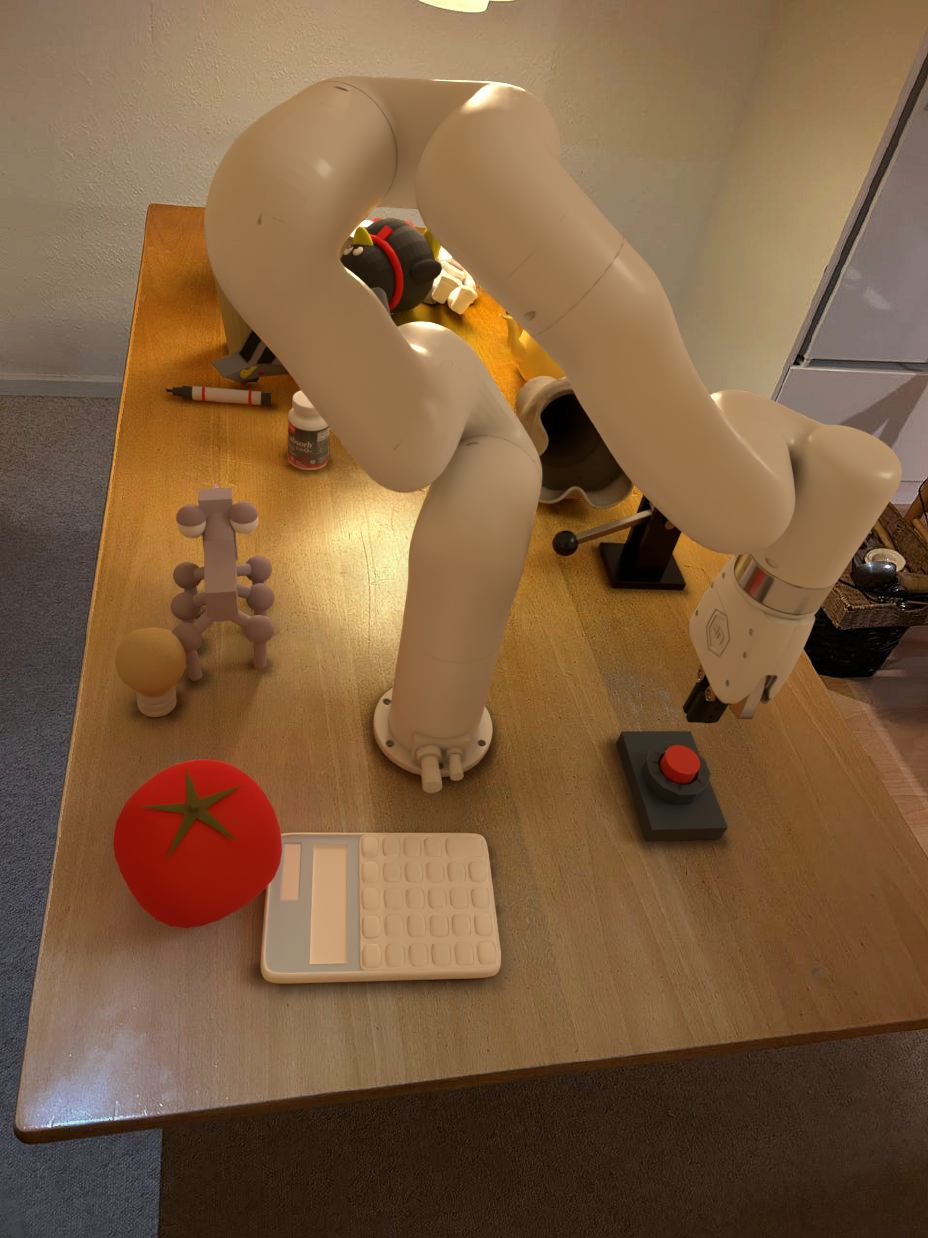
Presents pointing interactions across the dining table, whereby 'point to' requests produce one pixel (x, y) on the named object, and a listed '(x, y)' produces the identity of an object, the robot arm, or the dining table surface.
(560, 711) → the dining table surface
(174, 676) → the light bulb
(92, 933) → the dining table surface
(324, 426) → the pill bottle
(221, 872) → the tomato
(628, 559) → the bracket
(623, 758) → the button box
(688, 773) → the button
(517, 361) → the teapot
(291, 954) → the calculator
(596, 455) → the vase
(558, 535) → the lever
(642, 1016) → the dining table surface
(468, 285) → the figure
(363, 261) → the toy
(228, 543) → the toy insect
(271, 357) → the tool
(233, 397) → the marker
